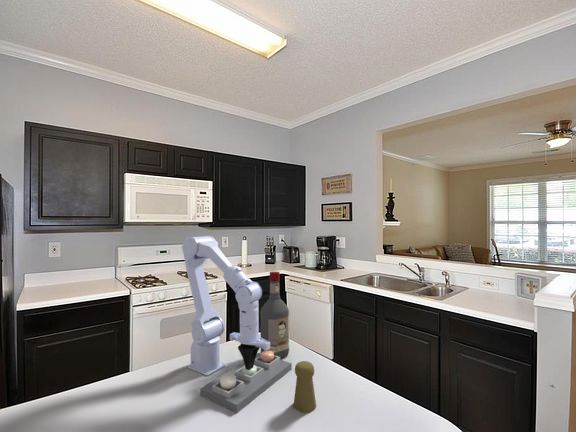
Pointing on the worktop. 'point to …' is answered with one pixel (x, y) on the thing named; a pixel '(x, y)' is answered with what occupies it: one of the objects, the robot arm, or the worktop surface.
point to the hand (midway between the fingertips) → (249, 368)
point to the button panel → (246, 383)
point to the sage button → (249, 371)
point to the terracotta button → (267, 356)
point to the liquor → (275, 320)
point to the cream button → (228, 381)
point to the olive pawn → (304, 387)
